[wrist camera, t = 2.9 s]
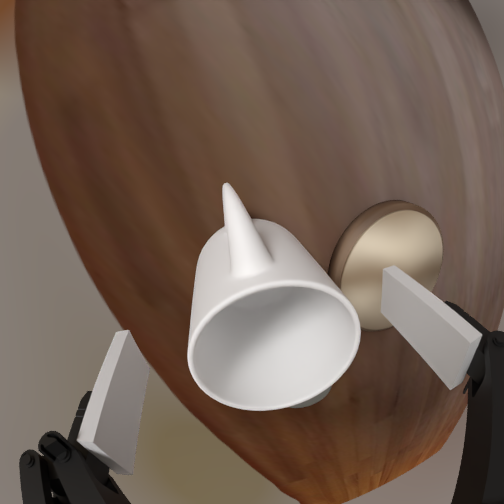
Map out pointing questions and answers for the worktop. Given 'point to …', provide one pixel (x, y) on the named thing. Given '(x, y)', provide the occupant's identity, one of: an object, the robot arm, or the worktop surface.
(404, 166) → the worktop surface
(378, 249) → the beige flat disc
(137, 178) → the worktop surface
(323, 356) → the mug
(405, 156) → the worktop surface
